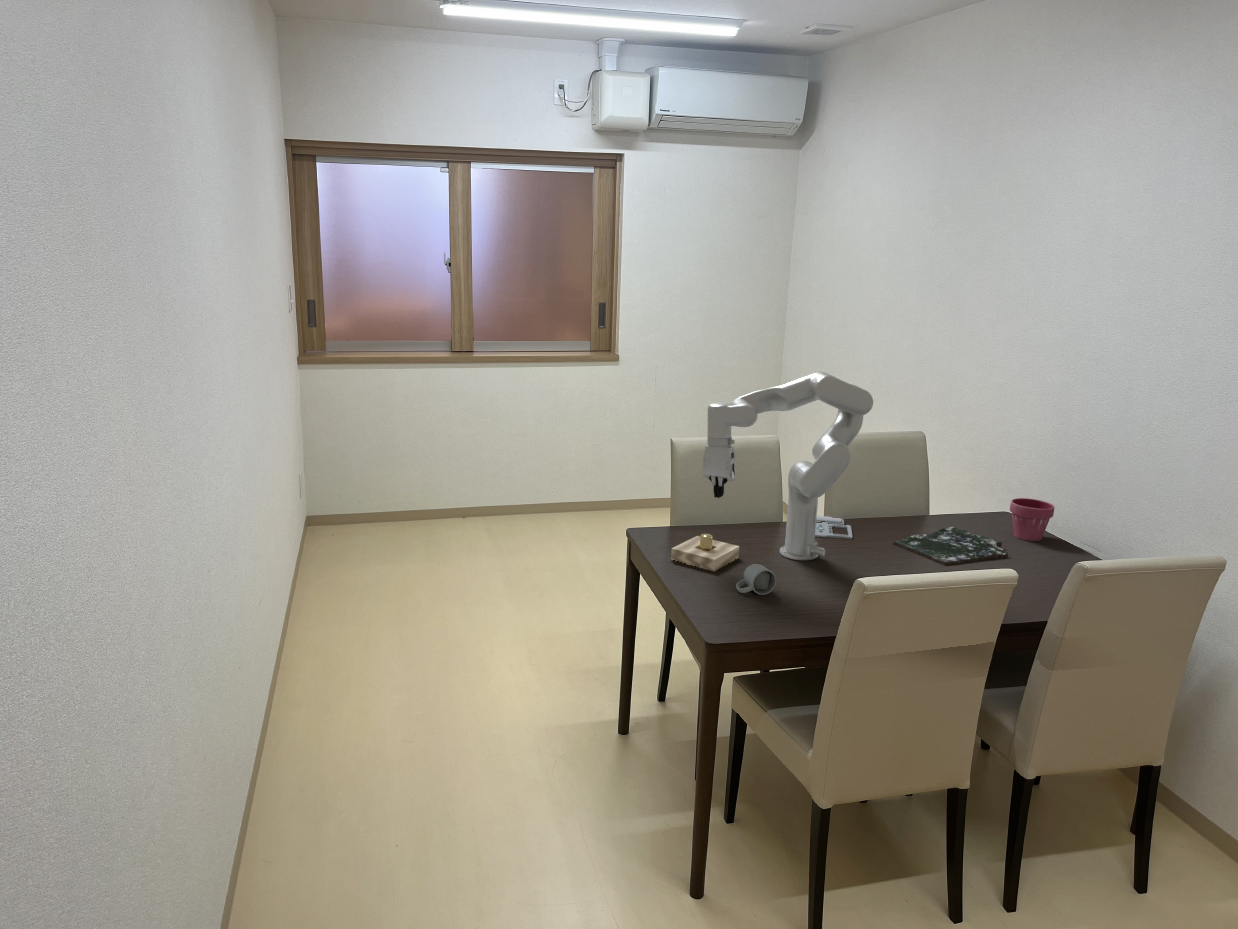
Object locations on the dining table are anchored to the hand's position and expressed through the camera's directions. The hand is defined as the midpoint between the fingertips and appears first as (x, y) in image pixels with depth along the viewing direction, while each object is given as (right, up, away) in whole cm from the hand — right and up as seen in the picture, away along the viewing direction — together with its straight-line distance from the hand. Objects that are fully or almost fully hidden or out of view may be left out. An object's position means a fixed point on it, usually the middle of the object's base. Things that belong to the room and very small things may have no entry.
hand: (718, 496), depth 278 cm
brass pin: (-4, -20, +1) cm, 21 cm away
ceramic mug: (+8, -27, -24) cm, 37 cm away
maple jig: (-4, -20, +1) cm, 21 cm away
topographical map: (+83, -19, +17) cm, 87 cm away
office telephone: (+42, -13, +36) cm, 57 cm away
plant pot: (+115, -16, +31) cm, 120 cm away
